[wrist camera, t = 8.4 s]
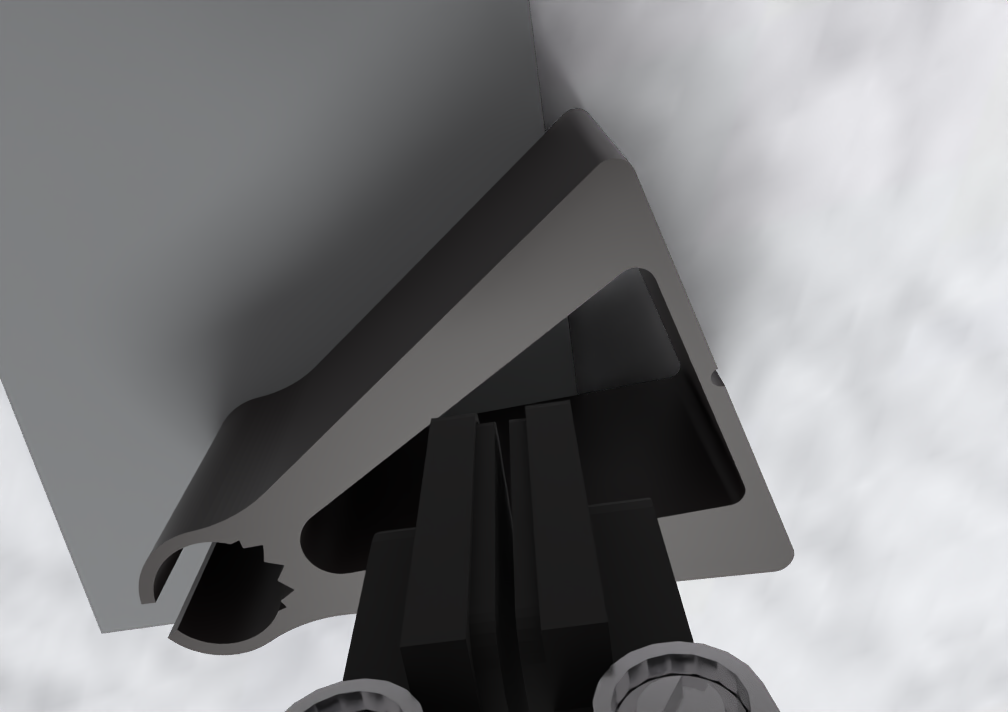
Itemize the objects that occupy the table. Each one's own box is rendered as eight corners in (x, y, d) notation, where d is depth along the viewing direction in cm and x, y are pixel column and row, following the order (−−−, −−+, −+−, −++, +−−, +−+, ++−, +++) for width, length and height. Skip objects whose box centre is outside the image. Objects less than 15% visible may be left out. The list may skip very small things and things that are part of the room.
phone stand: (584, 100, 20) (127, 323, 22) (626, 151, 15) (11, 443, 16) (722, 424, 23) (317, 595, 25) (799, 564, 18) (273, 772, 20)
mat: (505, -176, 19) (506, -181, 18) (596, 552, 26) (598, 565, 25) (-159, -70, 19) (-178, -70, 18) (109, 619, 26) (101, 633, 25)
